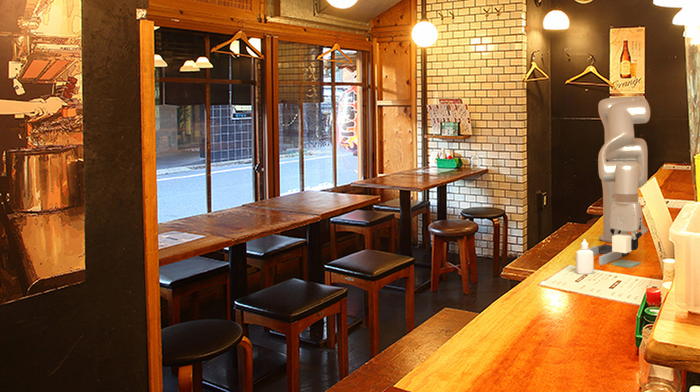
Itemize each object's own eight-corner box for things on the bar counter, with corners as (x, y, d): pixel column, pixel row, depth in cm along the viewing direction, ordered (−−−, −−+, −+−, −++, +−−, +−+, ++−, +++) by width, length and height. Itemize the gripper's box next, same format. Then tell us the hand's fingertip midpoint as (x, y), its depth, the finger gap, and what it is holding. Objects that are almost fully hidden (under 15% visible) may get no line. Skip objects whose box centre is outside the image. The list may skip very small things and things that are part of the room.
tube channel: (595, 253, 231) (595, 245, 230) (621, 257, 223) (621, 249, 222) (575, 260, 222) (575, 252, 222) (602, 265, 214) (602, 256, 214)
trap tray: (604, 250, 234) (604, 244, 234) (629, 254, 226) (629, 247, 226) (597, 252, 231) (597, 246, 231) (622, 256, 223) (622, 250, 223)
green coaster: (621, 260, 218) (621, 259, 218) (640, 263, 213) (640, 262, 213) (611, 264, 214) (611, 263, 214) (631, 267, 208) (631, 266, 208)
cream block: (620, 248, 215) (620, 233, 214) (634, 250, 211) (634, 235, 210) (612, 251, 211) (612, 236, 210) (625, 253, 207) (625, 237, 206)
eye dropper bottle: (577, 270, 209) (577, 237, 207) (594, 272, 206) (594, 238, 204) (574, 273, 205) (574, 240, 204) (592, 275, 202) (592, 241, 201)
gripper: (598, 198, 214) (598, 247, 217) (645, 201, 201) (645, 254, 203) (609, 195, 219) (609, 243, 221) (656, 198, 206) (655, 250, 208)
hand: (626, 248), depth 212 cm, fingers closed on cream block, 5 cm apart
